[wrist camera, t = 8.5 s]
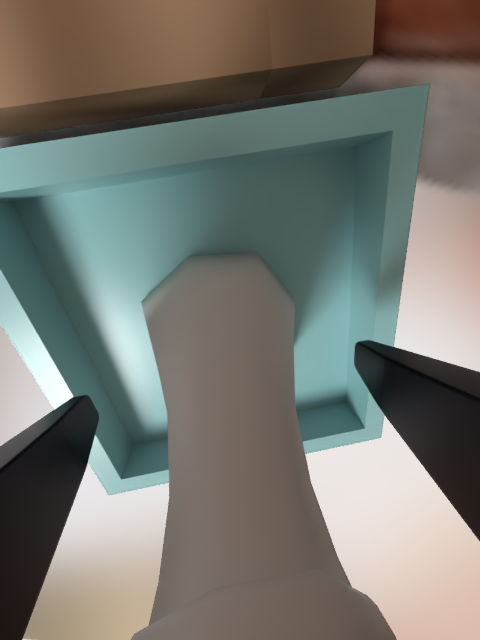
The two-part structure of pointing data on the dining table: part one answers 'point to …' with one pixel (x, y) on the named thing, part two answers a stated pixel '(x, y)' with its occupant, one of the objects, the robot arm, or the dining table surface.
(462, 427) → the robot arm
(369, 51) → the frame
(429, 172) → the dining table surface
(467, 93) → the dining table surface
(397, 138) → the teal tray
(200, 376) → the flask
